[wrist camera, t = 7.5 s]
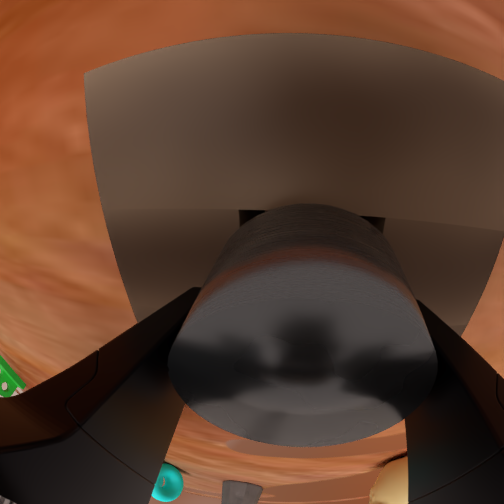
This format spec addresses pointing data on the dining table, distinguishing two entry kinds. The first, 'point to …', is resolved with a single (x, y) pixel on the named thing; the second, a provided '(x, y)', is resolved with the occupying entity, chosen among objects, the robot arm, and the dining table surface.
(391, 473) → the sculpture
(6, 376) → the mechanical part
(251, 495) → the coffeepot
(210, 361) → the steel pin
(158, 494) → the donuts
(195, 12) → the dining table surface
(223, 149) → the block
